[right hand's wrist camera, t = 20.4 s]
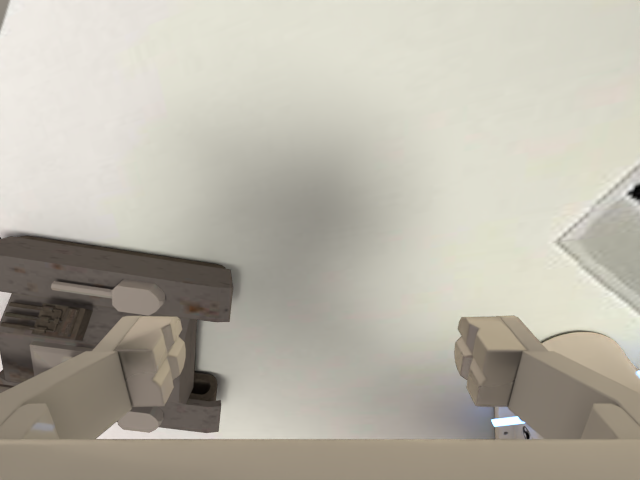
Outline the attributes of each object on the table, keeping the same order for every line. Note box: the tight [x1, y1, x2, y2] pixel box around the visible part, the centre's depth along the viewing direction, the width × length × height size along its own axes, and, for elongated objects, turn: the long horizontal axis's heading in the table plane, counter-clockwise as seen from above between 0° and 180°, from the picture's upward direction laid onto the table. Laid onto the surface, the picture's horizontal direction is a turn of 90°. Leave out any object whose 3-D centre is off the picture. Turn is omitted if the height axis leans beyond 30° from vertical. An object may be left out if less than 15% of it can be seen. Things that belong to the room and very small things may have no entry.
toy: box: [0, 236, 233, 433], centre depth 37 cm, size 25×20×15 cm
